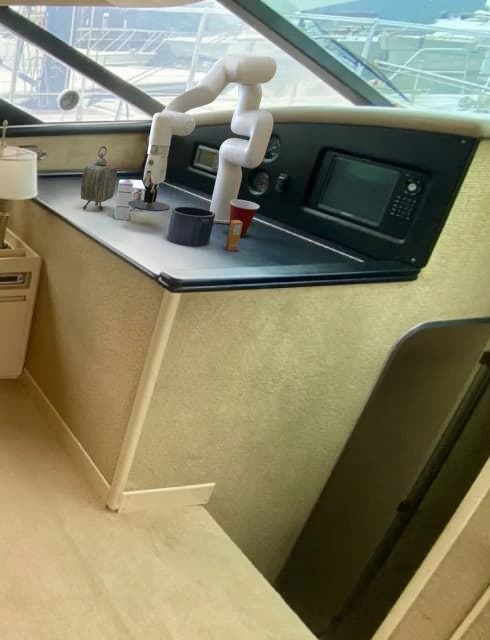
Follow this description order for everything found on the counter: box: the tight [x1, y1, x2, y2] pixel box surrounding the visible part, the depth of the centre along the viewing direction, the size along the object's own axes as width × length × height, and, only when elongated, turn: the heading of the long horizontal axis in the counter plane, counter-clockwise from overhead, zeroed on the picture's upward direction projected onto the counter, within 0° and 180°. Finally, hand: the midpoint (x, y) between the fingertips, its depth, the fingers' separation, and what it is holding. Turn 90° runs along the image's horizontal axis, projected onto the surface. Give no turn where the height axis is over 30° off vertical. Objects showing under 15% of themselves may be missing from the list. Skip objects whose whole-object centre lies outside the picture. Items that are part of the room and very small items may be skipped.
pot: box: [166, 206, 215, 247], centre depth 215 cm, size 15×20×10 cm
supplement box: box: [224, 220, 243, 252], centre depth 207 cm, size 3×3×10 cm
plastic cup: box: [228, 199, 261, 238], centre depth 225 cm, size 11×11×12 cm
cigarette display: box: [128, 179, 145, 212], centre depth 261 cm, size 20×6×9 cm, turn 172°
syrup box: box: [114, 179, 134, 221], centre depth 239 cm, size 6×6×14 cm
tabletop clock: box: [80, 145, 118, 211], centre depth 248 cm, size 14×9×25 cm, turn 144°
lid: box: [128, 189, 171, 212], centre depth 224 cm, size 16×16×7 cm
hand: (149, 201), depth 224 cm, fingers closed on lid, 2 cm apart
